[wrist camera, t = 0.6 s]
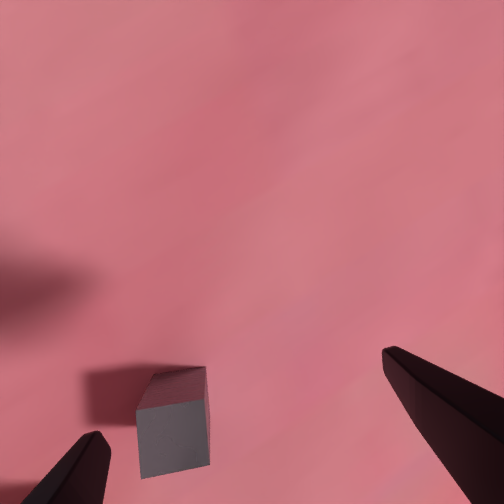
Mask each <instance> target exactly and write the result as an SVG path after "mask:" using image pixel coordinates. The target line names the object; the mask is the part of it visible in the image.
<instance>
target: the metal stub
mask: <svg viewBox="0 0 504 504" xmlns="http://www.w3.org/2000/svg"><path fill="white" fill-rule="evenodd" d="M136 422H137V435H138V448H139V460H140V473H141V479H145V478H150V477H155V476H159V475H164V474H169V473H174V472H179V471H183V470H188V469H193V468H198V467H202V466H207V465H210V409H209V397H208V385H207V373H206V367H200V368H193V369H186V370H180V371H173V372H166V373H160V374H154V375H153V377H152V379H151V381H150V383H149V385H148V387H147V389H146V391H145V393H144V395H143V397H142V399H141V401H140V403H139V405H138V407H137V409H136Z"/></svg>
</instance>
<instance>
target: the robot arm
mask: <svg viewBox="0 0 504 504" xmlns="http://www.w3.org/2000/svg"><path fill="white" fill-rule="evenodd" d="M382 362H383V371H384V373H385V376H386V377H387V379H388V381H389V382H390V384H391V386H392V388H393V389H394V391H395V393H396V394H397V396H398V398H399V399H400V401H401V403H402V404H403V406H404V408H405V409H406V411H407V413H408V414H409V416H410V418H411V419H412V421H413V423H414V424H415V426H416V427H417V429H418V430H419V432H420V433H421V434H422V436H423V437H424V439H425V440H426V441H427V443H428V444H429V446H430V447H431V448H432V450H433V451H434V452H435V454H436V455H437V457H438V458H439V459H440V461H441V462H442V463H443V465H444V466H445V468H446V469H447V470H448V472H449V473H450V475H451V476H452V477H453V479H454V480H455V481H456V483H457V484H458V486H459V487H460V488H461V490H462V491H463V492H464V494H465V495H466V497H467V498H468V499H469V501H470V502H471V504H504V398H503V397H501V396H498V395H496V394H494V393H492V392H490V391H488V390H486V389H484V388H482V387H480V386H478V385H476V384H474V383H472V382H470V381H468V380H465V379H463V378H461V377H459V376H457V375H455V374H453V373H451V372H449V371H447V370H445V369H443V368H441V367H439V366H437V365H434V364H432V363H430V362H428V361H426V360H424V359H422V358H420V357H418V356H416V355H414V354H412V353H410V352H408V351H406V350H404V349H401V348H399V347H397V346H391V347H388V348H384V349H383V350H382ZM110 459H111V448H110V446H109V444H108V443H107V441H106V440H105V438H104V437H103V435H102V433H101V432H100V431H93V432H90V433H86V434H84V435H83V436H82V437H81V438H80V439H79V440H78V441H77V442H76V443H75V444H74V445H73V446H72V447H71V449H70V450H69V451H68V452H67V453H66V454H65V455H64V456H63V457H62V458H61V460H60V461H59V462H58V463H57V464H56V465H55V466H54V467H53V468H52V469H51V471H50V472H49V473H48V474H47V475H46V476H45V477H44V478H43V479H42V480H41V482H40V483H39V484H38V485H37V486H36V487H35V488H34V489H33V490H32V491H31V493H30V494H29V495H28V496H27V497H26V498H25V499H24V500H23V501H22V503H21V504H103V499H104V493H105V487H106V482H107V476H108V471H109V465H110Z"/></svg>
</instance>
